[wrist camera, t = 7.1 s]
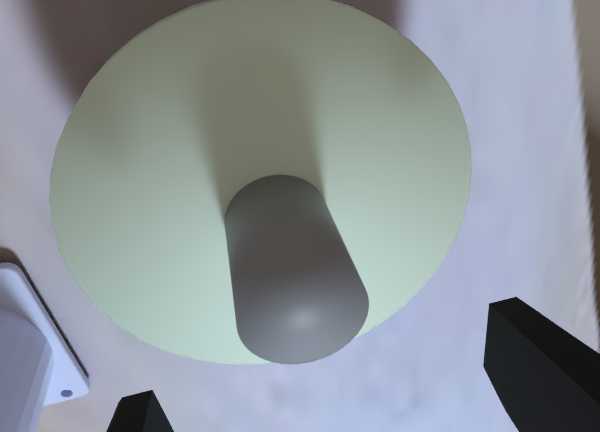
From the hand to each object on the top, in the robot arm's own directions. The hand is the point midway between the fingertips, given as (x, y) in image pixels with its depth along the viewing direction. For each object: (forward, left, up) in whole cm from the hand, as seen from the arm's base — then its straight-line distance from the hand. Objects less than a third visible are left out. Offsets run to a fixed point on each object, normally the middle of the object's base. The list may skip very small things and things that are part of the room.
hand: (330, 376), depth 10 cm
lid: (0, +1, -6) cm, 6 cm away
